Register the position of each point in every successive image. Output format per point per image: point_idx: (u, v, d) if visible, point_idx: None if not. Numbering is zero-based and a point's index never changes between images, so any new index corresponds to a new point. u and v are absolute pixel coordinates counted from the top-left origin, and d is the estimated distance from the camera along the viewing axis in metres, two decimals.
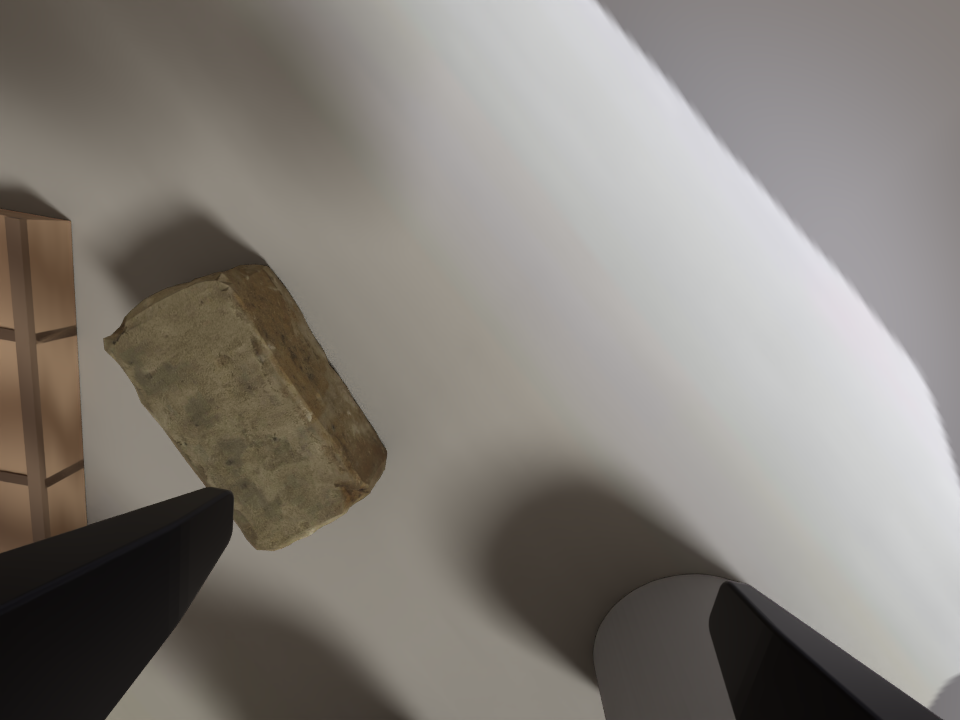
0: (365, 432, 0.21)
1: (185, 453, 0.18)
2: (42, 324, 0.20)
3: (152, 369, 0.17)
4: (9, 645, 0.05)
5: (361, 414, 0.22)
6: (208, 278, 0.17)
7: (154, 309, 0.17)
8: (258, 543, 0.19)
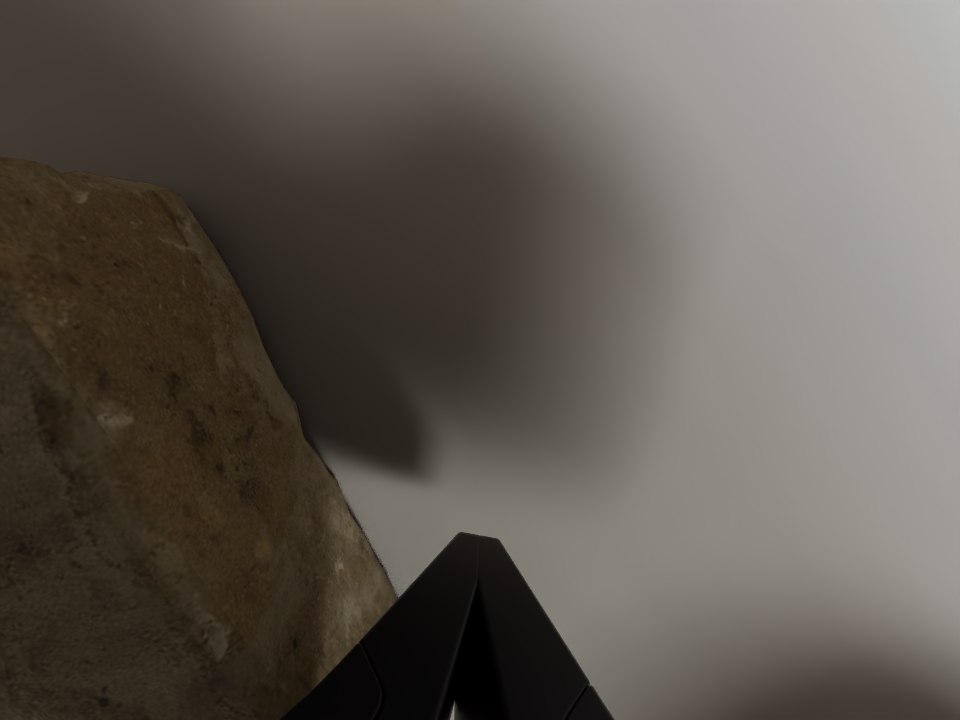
0: (372, 605, 0.09)
1: None
2: None
3: None
4: None
5: (365, 552, 0.10)
6: None
7: None
8: None
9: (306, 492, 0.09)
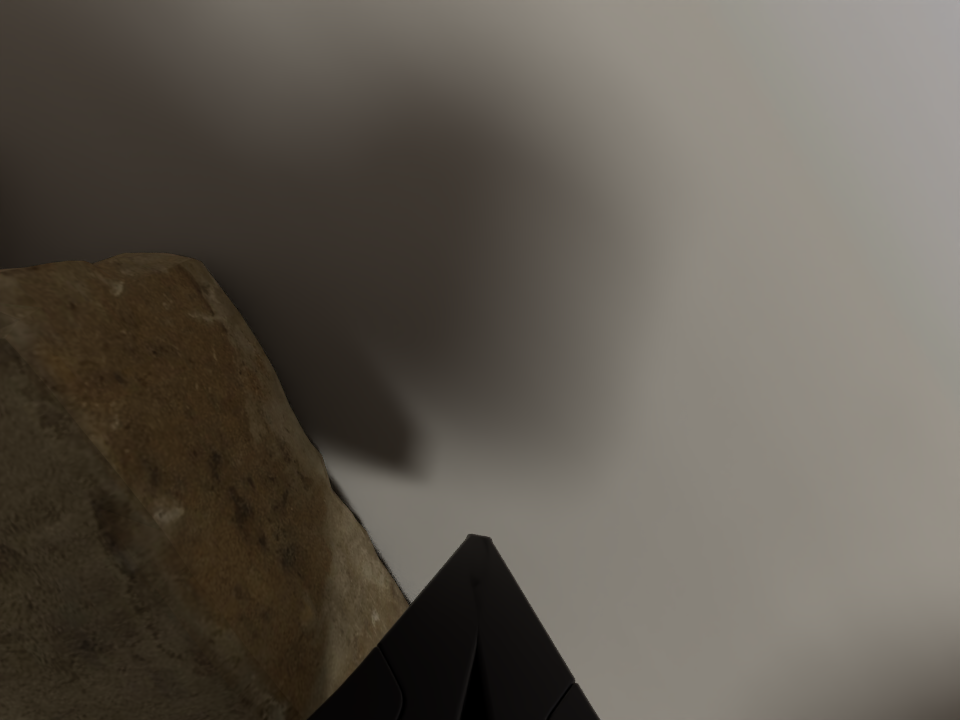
0: None
1: None
2: None
3: None
4: None
5: (396, 597, 0.10)
6: None
7: None
8: None
9: (339, 547, 0.09)
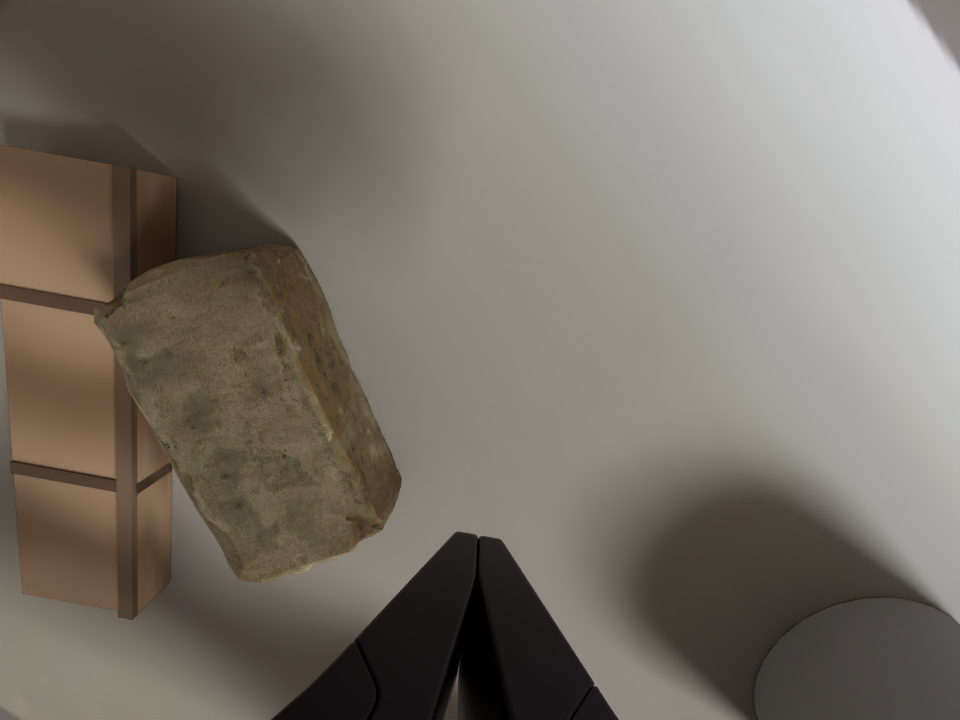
0: (382, 455, 0.19)
1: (172, 458, 0.15)
2: None
3: (149, 354, 0.14)
4: None
5: (379, 433, 0.19)
6: (235, 256, 0.14)
7: (163, 284, 0.14)
8: (243, 574, 0.16)
9: (354, 395, 0.18)
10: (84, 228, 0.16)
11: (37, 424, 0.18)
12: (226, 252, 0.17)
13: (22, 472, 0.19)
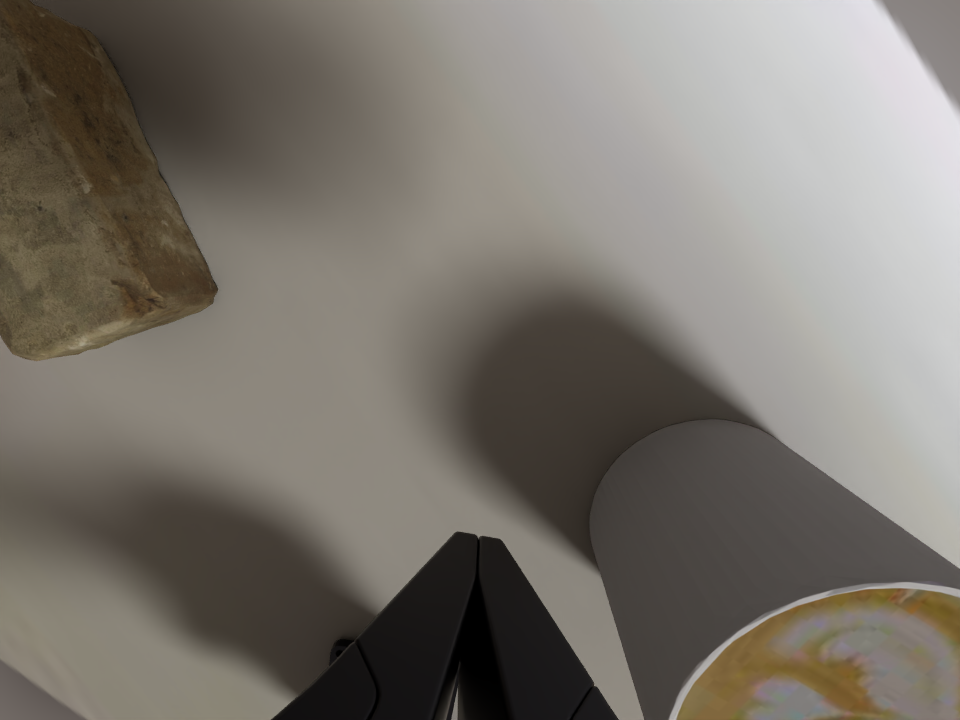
0: (185, 254, 0.18)
1: None
2: None
3: None
4: None
5: (189, 238, 0.19)
6: None
7: None
8: (14, 345, 0.16)
9: (150, 186, 0.18)
10: None
11: None
12: None
13: None
